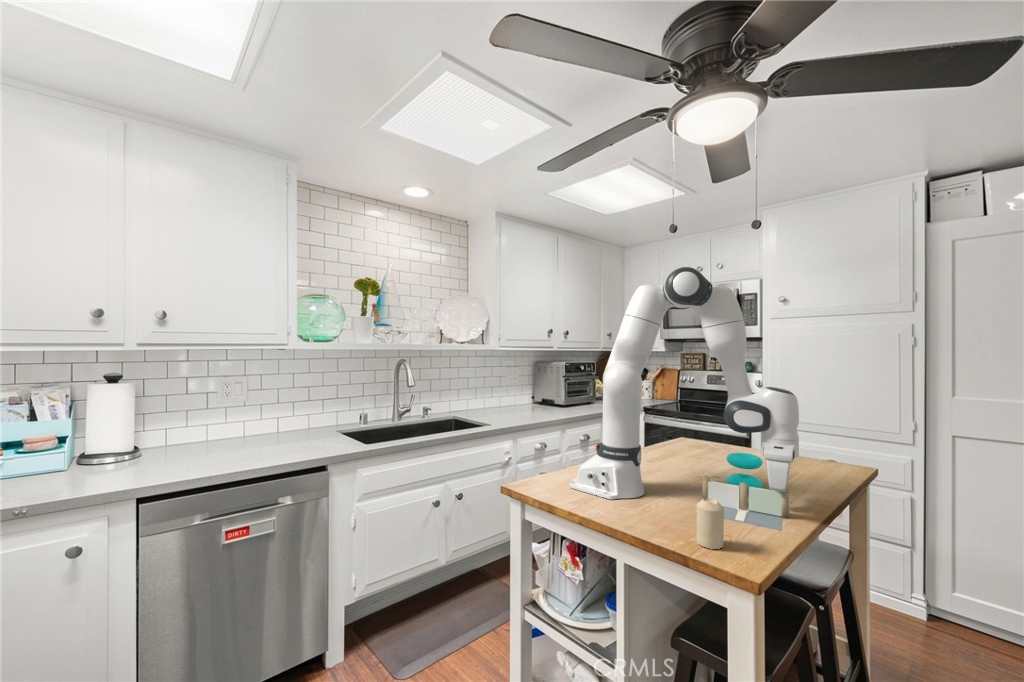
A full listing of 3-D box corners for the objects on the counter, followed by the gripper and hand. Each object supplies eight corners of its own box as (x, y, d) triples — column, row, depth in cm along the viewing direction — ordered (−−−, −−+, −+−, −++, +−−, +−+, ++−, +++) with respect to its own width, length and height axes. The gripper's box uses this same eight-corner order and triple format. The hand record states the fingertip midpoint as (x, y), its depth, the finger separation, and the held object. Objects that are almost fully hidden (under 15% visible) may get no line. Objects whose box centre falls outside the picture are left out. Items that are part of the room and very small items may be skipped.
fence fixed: (701, 502, 124) (701, 477, 124) (702, 500, 126) (703, 475, 126) (746, 511, 118) (747, 485, 118) (747, 509, 119) (747, 483, 119)
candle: (715, 552, 95) (715, 506, 95) (691, 543, 99) (692, 498, 100) (728, 545, 98) (728, 501, 98) (705, 536, 103) (705, 494, 103)
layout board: (696, 514, 116) (696, 512, 116) (708, 495, 131) (708, 494, 131) (780, 531, 106) (780, 530, 106) (783, 509, 120) (783, 508, 120)
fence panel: (748, 510, 118) (748, 484, 118) (749, 508, 119) (749, 482, 119) (788, 518, 113) (788, 490, 113) (788, 515, 114) (789, 488, 114)
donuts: (734, 459, 134) (721, 451, 144) (733, 492, 134) (721, 481, 144) (768, 460, 133) (753, 452, 143) (768, 493, 133) (753, 483, 143)
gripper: (768, 439, 130) (768, 486, 130) (763, 453, 113) (763, 507, 113) (793, 442, 126) (793, 490, 126) (792, 457, 109) (792, 513, 109)
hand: (779, 498), depth 119 cm, fingers closed
